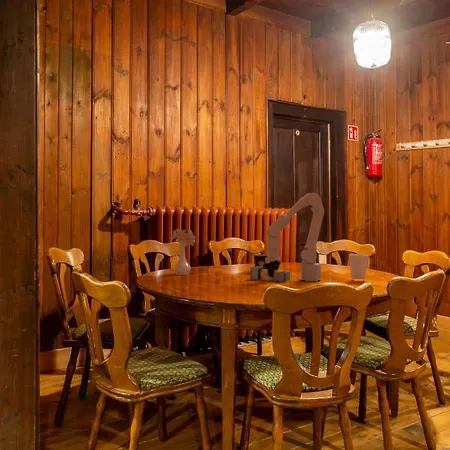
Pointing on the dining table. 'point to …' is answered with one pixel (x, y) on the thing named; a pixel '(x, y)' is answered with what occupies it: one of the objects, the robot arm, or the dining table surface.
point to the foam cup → (358, 265)
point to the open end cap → (282, 276)
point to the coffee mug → (260, 260)
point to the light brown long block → (265, 275)
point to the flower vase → (182, 250)
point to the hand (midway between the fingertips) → (272, 276)
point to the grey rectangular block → (255, 272)
